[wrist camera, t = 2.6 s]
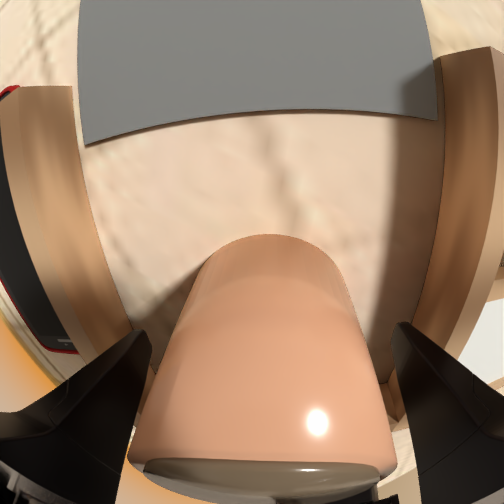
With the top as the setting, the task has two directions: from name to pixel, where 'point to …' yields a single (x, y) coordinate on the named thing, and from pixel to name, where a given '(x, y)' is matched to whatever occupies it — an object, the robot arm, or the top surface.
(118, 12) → the mat
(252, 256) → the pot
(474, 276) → the wooden u-shaped frame
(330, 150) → the top surface
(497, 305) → the wood framed whiteboard
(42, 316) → the cell phone
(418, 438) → the robot arm
